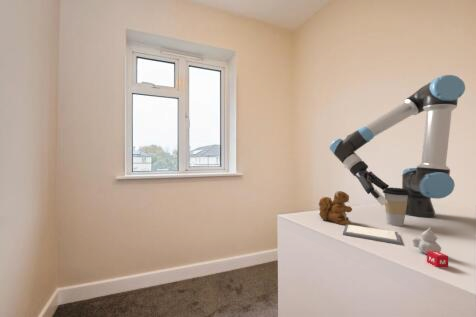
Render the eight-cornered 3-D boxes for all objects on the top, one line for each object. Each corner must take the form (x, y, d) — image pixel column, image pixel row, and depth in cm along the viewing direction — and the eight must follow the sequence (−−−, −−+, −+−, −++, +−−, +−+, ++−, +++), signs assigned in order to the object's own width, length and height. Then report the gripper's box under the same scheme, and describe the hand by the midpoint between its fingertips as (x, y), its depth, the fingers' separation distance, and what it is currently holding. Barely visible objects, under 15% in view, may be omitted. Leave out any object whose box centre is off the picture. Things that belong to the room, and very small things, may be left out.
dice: (448, 267, 58) (448, 256, 58) (436, 267, 58) (437, 256, 58) (437, 262, 61) (437, 251, 61) (426, 262, 61) (426, 251, 61)
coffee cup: (400, 221, 101) (401, 187, 101) (414, 228, 92) (415, 190, 92) (377, 220, 102) (378, 186, 102) (389, 226, 93) (390, 189, 93)
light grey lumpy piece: (440, 259, 63) (441, 230, 63) (410, 252, 67) (411, 225, 67) (441, 254, 67) (442, 226, 67) (412, 247, 71) (413, 221, 71)
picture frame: (397, 234, 84) (397, 231, 84) (401, 244, 73) (401, 241, 73) (346, 226, 92) (346, 223, 92) (342, 234, 82) (343, 231, 82)
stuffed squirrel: (350, 226, 93) (351, 193, 92) (314, 220, 100) (315, 190, 100) (353, 220, 101) (353, 191, 101) (319, 216, 108) (320, 188, 108)
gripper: (360, 170, 119) (393, 204, 108) (337, 171, 104) (372, 210, 92) (372, 160, 115) (407, 194, 104) (349, 159, 99) (388, 199, 88)
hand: (391, 202), depth 98 cm, fingers open, 13 cm apart
